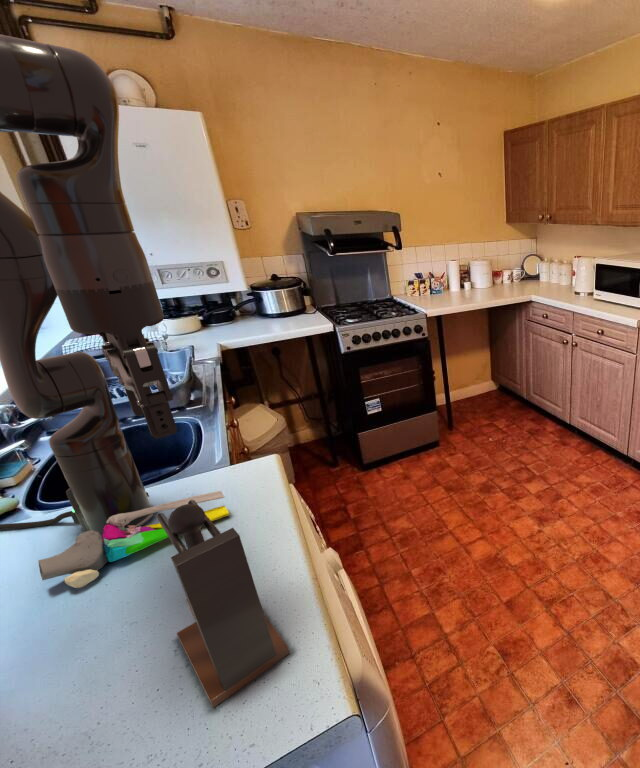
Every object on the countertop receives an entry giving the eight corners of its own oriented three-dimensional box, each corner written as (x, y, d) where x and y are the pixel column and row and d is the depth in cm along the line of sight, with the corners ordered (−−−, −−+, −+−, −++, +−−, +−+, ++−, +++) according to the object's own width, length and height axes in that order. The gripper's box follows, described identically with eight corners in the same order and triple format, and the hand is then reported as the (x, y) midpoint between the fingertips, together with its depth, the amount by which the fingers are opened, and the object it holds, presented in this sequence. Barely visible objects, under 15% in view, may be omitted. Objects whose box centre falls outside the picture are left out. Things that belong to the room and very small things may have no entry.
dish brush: (192, 615, 58) (149, 505, 52) (233, 592, 62) (197, 486, 55) (209, 646, 54) (164, 531, 47) (252, 619, 58) (216, 508, 51)
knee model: (232, 540, 85) (48, 609, 67) (218, 510, 89) (40, 567, 70) (235, 510, 81) (38, 575, 62) (220, 479, 84) (29, 532, 66)
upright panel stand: (178, 637, 60) (127, 516, 53) (248, 596, 67) (211, 482, 59) (213, 708, 51) (158, 574, 44) (290, 653, 58) (253, 528, 50)
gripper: (46, 278, 46) (101, 417, 52) (63, 293, 37) (127, 458, 43) (136, 271, 51) (176, 398, 57) (169, 282, 42) (213, 430, 48)
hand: (155, 423), depth 50 cm, fingers open, 8 cm apart
